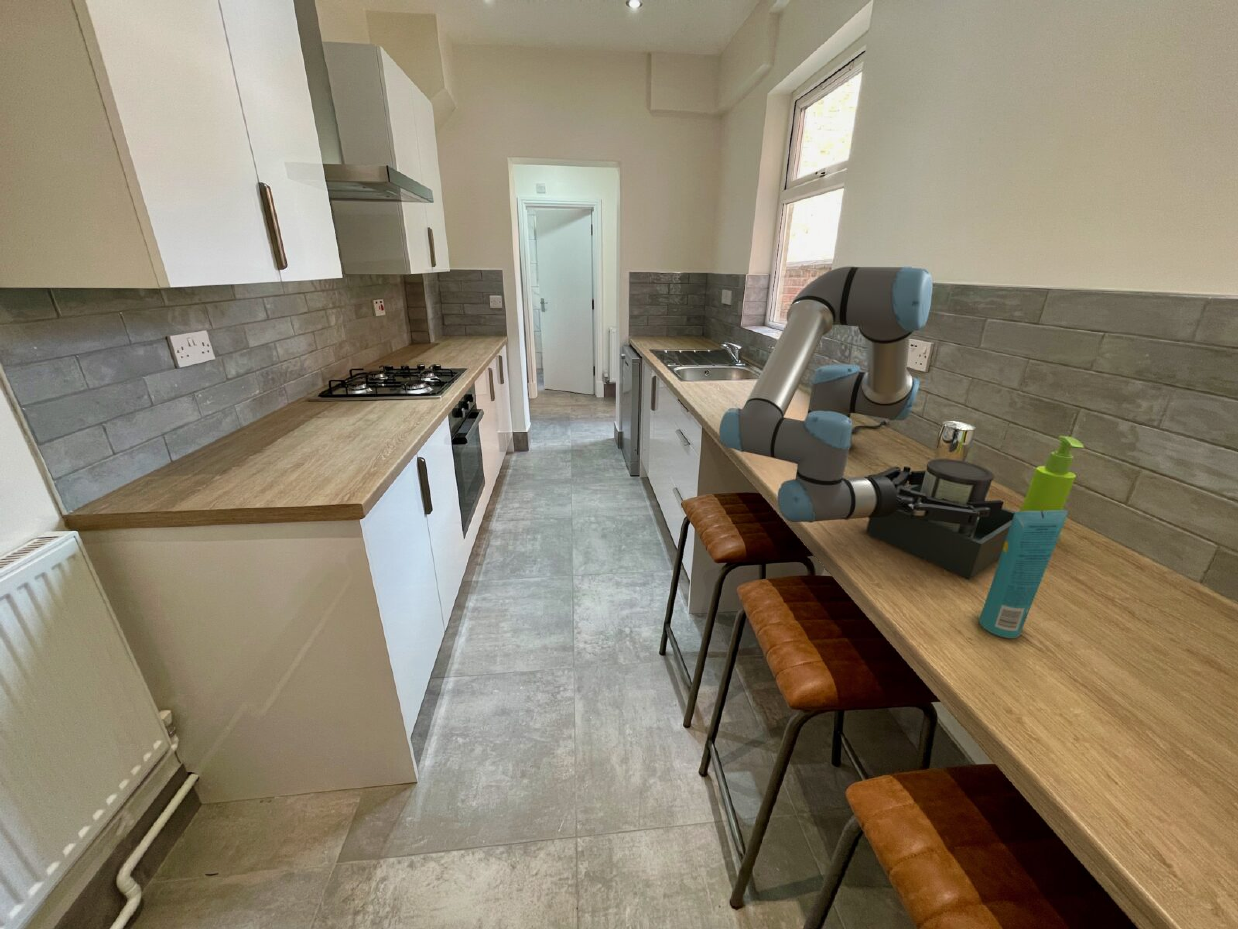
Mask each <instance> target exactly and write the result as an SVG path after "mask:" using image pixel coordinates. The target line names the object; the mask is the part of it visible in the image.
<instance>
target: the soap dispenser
mask: <svg viewBox="0 0 1238 929" xmlns="http://www.w3.org/2000/svg"><path fill="white" fill-rule="evenodd" d="M1058 440H1059V441H1060V444H1059V445H1058V446H1059V447H1058V449H1057V450H1055V451H1051V452H1050V453H1049V457H1048V458H1047V461H1046V463H1045V464H1046V465H1039V466H1037V467H1036V468H1035V470H1034V473H1033V476H1032V478H1031V482H1030V484H1029V487H1028V490H1027V492H1026V495H1025V498H1024V500H1023V503H1022V505H1021V508H1020V511H1062V510H1064V507H1065V504H1066V502H1067V499H1068V497H1069V495H1070V492H1071V490H1072V487H1073V485H1074V483H1075V480H1076V477H1077V476H1076V474H1075V473H1074V472H1072V471H1070V469H1071V466H1072V464H1073V461H1074V459H1075V456H1074V455H1072V454H1071V451H1072V449H1080V450H1083V449H1085V446H1084V444H1083V442H1081V441H1080V440H1078V439H1077V438H1076V437H1075V438H1074V437H1072V436H1064V435H1058Z"/></svg>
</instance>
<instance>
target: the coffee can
mask: <svg viewBox="0 0 1238 929" xmlns="http://www.w3.org/2000/svg"><path fill="white" fill-rule="evenodd" d="M925 471H926V473H925V476H924V480H923V484H922V487H921V491H920V492H922V493H926V494H927V496H928V497H933V498H938V499H942V500H947V501H952V502H957V503H961V504H966V505H967V502H978V501H987V500H986V499H987V497H988V494H989V490H990V487H991V484H992V482H993V480H994V479H995V474H994V473H993V472H992V471H991V470H989V469H988V468H986V467H983V466H980V465H978V464H976V463H972V462H968V461H964V462H963V461H958V460H951V459H930V460H929V461H927V462H926V469H925ZM919 502H921V498H920V497H919V499H918V502H917V504H918V503H919ZM924 520H927V519H924ZM978 520H979V517H978V518H977V521H976V524H975V526H969V525H962V524H955V523H948V522H941V521H934V520H927V521H930V522H932V523H935V524H937V525H940V526H942V527H945V528H947V529H950V530H952V531H955V532H957V533H960V534H962V535H965V536H967V537H970V538H973V536H974V533H975V530H976V527H977V524H978Z"/></svg>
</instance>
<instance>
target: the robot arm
mask: <svg viewBox="0 0 1238 929" xmlns="http://www.w3.org/2000/svg"><path fill="white" fill-rule="evenodd" d="M931 274H932V273H931V272H930V271H929V270H927V269H926V268H920V267H919V268H918V267H911V266H841V267H837V268H834V269H832V270H828V271H827V272H825V273H823V274H821V275H820V276H817V277H816V278H815V279H814V280H812V281H810V282H809V283H808V284H807V285H806V286H805V287H804V288H802V290H801V291H799V293H798V294H797V295H796V296H795V298H794V299H793V300H792V302H791V304H790V306H789V308H788V309H787V312H786V324H785V326H784V328H783V330H782V332H781V333H780V336H779V338H778V339H777V341H776V343H775V345H774V347H773V349H772V351H771V353H770V354H769V357H768V359H767V361H766V362H765V364H764V366H763V369H762V370H761V373H760V375H759V376H758V378H757V380H756V382H755V384H754V385H753V388H752V390H751V392H750V394H749V396H748V397H747V400H746V401H745V403H744V405H743V407H742V408H740V407H737V408H736V407H735V408H734V407H731V408H729V409H728V410H726V411H725V412H724V414H723V416H722V418H721V420H720V424H719V430H718V435H719V439H720V443H721V444H722V445H723V446H724V447H727V448H729V449H732V450H735V451H739V452H741V453H748V454H754V455H757V456H763V457H766V458H772V459H776V460H780V461H783V462H788V463H791V464H796V465H797V467H796V472H795V478H793V479H792V478H791V479H789V480H784V481H783V482H782V483H781V485H780V487H779V488H778V491H777V506H778V508H779V511H780V514H781V515H782V516H783V518H784V519H785V520H787V521H788V522H790V523H810V524H811V523H816V522H824V521H825V522H826V521H836V520H844V521H848V520H853V519H855V520H856V519H866V518H867V519H869V518H877V517H887V516H889V515H891V514H892V513H893V512H894V511H896V510H904V511H910V512H911V516H910V517H911V518H912V519H927V520H934V521H941V522H948V523H955V524H962V525H969V526H975V524H976V521H977V518H978V517H990V516H999V515H1000V512H1001V509H1002V508H1003V506H1004V504H1005V503H1004V502H1005V501H1003V500H1001V499H998V500H997V499H996V500H985V501H978V502H967V505H966V504H961V503H957V502H952V501H947V500H942V499H938V498H933V497H928V496H927V494H926V493H922V492H917V491H913V490H911V489H910V488H908V486H907V484H908V485H909V486H911V485H922V484H923V480H924V476H925V473H926V470H912V468H911V467H910V466H908V465H907V466H903V470H902V468H901V467H900V466H893V467H891V468H888V469H886V470H883V471H881V472H879V473H874V474H868V475H867V476H865V475H864V476H860V475H859V476H847V477H846V476H845V477H844V474H845V470H846V466H847V461H848V456H849V452H850V449H851V447H852V443H853V437H852V434H856V433H857V432H858V429H879V428H881V427H882V426H883V425H885V426H886V425H887V424H888V423H887V422H886V420H889V421H898V422H899V421H902V422H903V421H906V420H907V419H908V418H909V416H910V414H911V411H912V410H913V406H914V403H915V401H916V397H917V395H918V392H919V387H920V379H918V378H915V377H914V376H912V375H911V373H910V372H909V370H908V360H909V359H908V358H909V348H910V340H911V336H912V334H914V333H915V332H917V331H920V330H922V329H923V328H924V326H926V323H927V321H928V318H929V314H930V311H931V305H932V295H933V289H934V288H933V285H934V284H933V277H932V275H931ZM833 326H847V327H858V328H857V329H858V331H859V334H860V335H861V336H862V337H863V338H864V339H865V340H866V363H867V364H866V365H867V366H866V367H867V372H866V371H862V370H861V366H860V365H858V364H848V363H844V364H842V363H841V364H838V363H837V364H827V365H822V366H819V367H818V368H817V369H816V370H815V371H814V375H813V381H811V384H812V385H811V390H810V395H809V402H808V409H807V414H806V416H805V418H804V419H803V420H801V419H795V418H791V417H785V415H786V413H787V411H788V408H789V407H790V405H791V402H792V400H793V398H794V396H795V394H796V392H797V390H798V388H799V386H800V383H801V382H802V380H803V377H804V375H805V373H806V371H807V369H808V366H809V365H810V363H811V360H812V359H813V356H814V354H815V352H816V350H817V349H818V346H819V343H820V342H821V340H822V337H823V336H825V335H827V334H828V333H829V332H830V331H831V329H832V328H833ZM851 414H856V415H862V416H869V417H874V418H879V419H880V418H881V419H884V420H883V421H881V422H880V423H879V424H878V425H856V426H854V425H853V421H852V419H851ZM885 419H886V420H885ZM853 426H854V428H853ZM911 470H912V471H911ZM918 497H920V498H921V502H919V503H918V504H917V500H918Z"/></svg>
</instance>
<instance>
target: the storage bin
mask: <svg viewBox="0 0 1238 929" xmlns="http://www.w3.org/2000/svg"><path fill="white" fill-rule="evenodd" d="M907 487H908V488H910V489H911V490H913V491H917V492H920V491H921V487H922V485H908V486H907ZM918 499H919V497H918ZM917 502H918V500H917ZM1015 512H1016V511H1014V510H1011V509H1008V508H1005V507H1002V509H1001V512H1000V515H999V516H990V517H979V520H978V524H977V527H976V530H975V533H974V536H973V538H970V537H967V536H965V535H962V534H960V533H957V532H955V531H952V530H950V529H947V528H945V527H942V526H940V525H937V524H935V523H932V522H930V521H927V520H924V519H912V518H911V517H910V516H911V512H910V511H904V510H896V511H894V512H893V513H892V514H891V515H889V516H887V517H877V518H868V522H867V526H866V531H865V533H866V534H868V535H870V536H872V537H875V538H877V539H879V540H882V541H884V542H885V543H888V544H890V545H892V546H894V547H897V548H899V549H902V550H903V551H906V552H907V553H909V554H912V555H914V556H916V557H919V558H920V559H923V560H925V561H927V562H929V563H932V564H934V565H936V566H939V567H941V568H943V569H945V570H947V571H950V572H952V573H953V574H956V575H958V576H960V577H962V578H965V579H967V580H971V579H972V578H973V577H975V576H976V575H978V574H980V572H982V571H984V570H985V569H987V568H988V567H989V566H990V565H992V564H994V563H995V562H996V561H999V559H1000V556H1001V553H1002V550H1003V547H1004V544H1005V541H1006V538H1007V535H1008V532H1009V529H1010V526H1011V523H1012V520H1013V517H1014V514H1015Z"/></svg>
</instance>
